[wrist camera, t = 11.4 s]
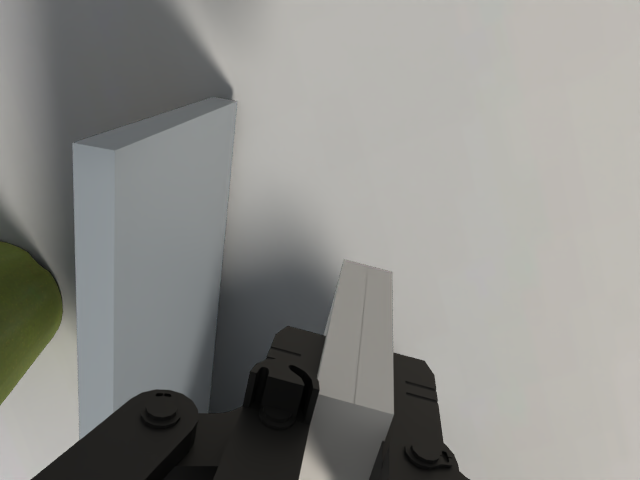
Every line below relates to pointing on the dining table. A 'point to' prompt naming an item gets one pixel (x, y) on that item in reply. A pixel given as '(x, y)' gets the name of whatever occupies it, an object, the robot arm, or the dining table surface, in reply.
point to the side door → (150, 255)
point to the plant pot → (24, 313)
